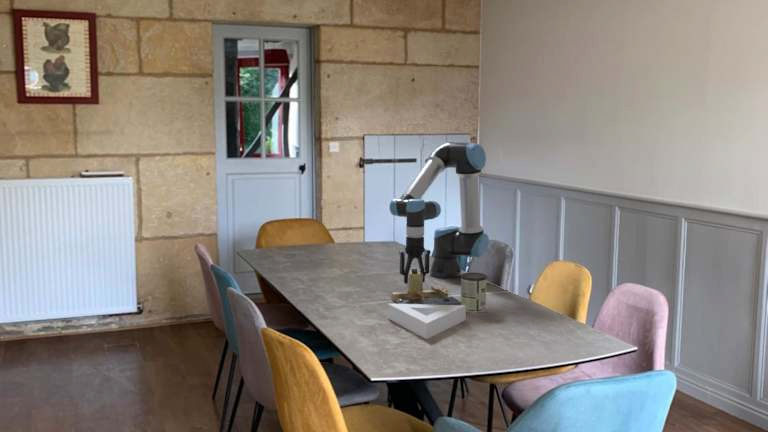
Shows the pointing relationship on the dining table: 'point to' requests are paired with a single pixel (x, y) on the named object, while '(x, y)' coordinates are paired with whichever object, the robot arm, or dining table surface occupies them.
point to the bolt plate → (431, 301)
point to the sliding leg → (416, 283)
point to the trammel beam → (433, 293)
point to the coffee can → (473, 292)
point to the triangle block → (426, 317)
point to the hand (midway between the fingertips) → (414, 290)
